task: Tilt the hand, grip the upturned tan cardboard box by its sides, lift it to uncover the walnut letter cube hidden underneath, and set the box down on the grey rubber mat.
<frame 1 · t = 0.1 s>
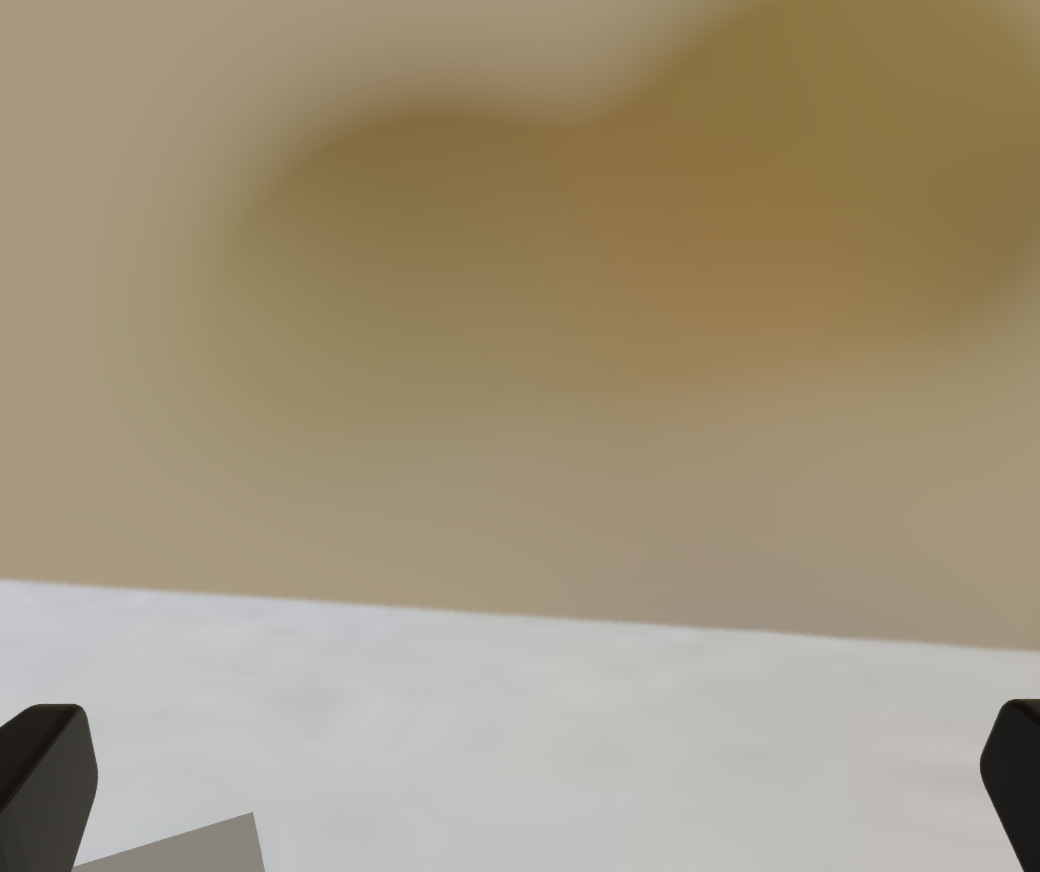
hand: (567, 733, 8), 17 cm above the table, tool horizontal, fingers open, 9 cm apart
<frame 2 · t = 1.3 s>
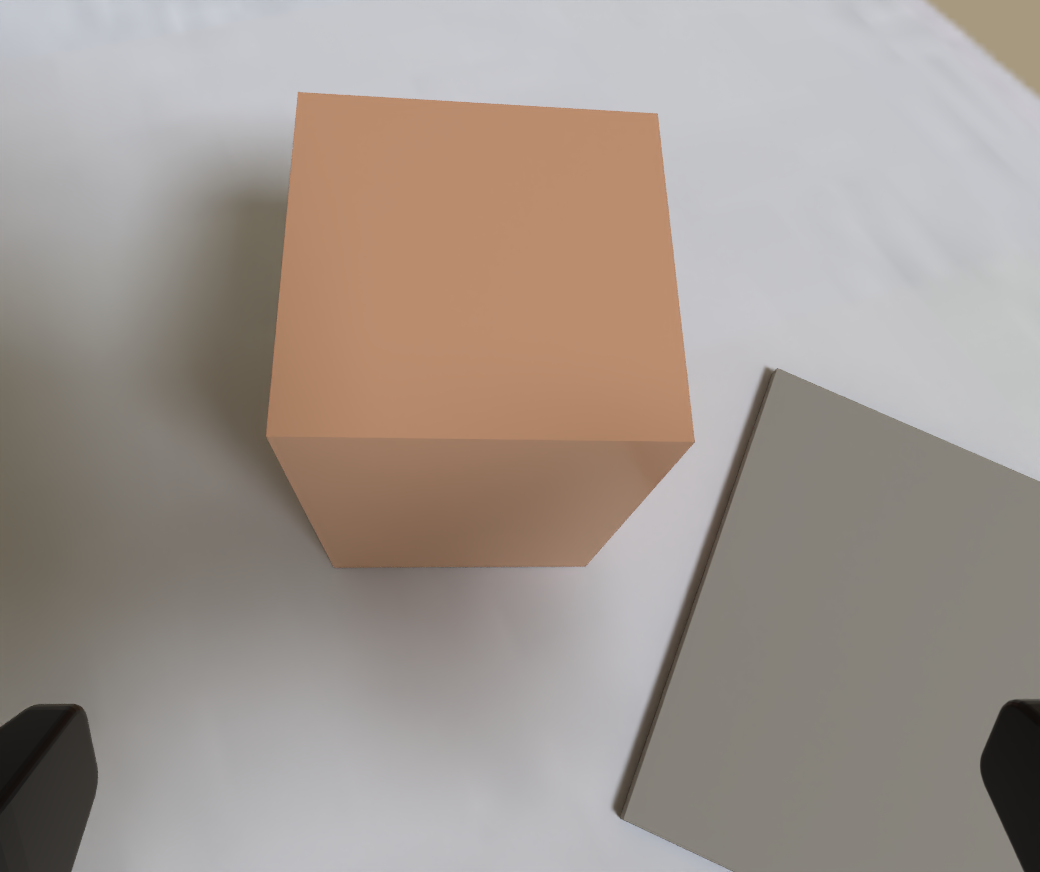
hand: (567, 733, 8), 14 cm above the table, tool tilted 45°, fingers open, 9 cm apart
tan cardboard box: (461, 449, 24), on the table
rubber mat: (933, 673, 23), on the table
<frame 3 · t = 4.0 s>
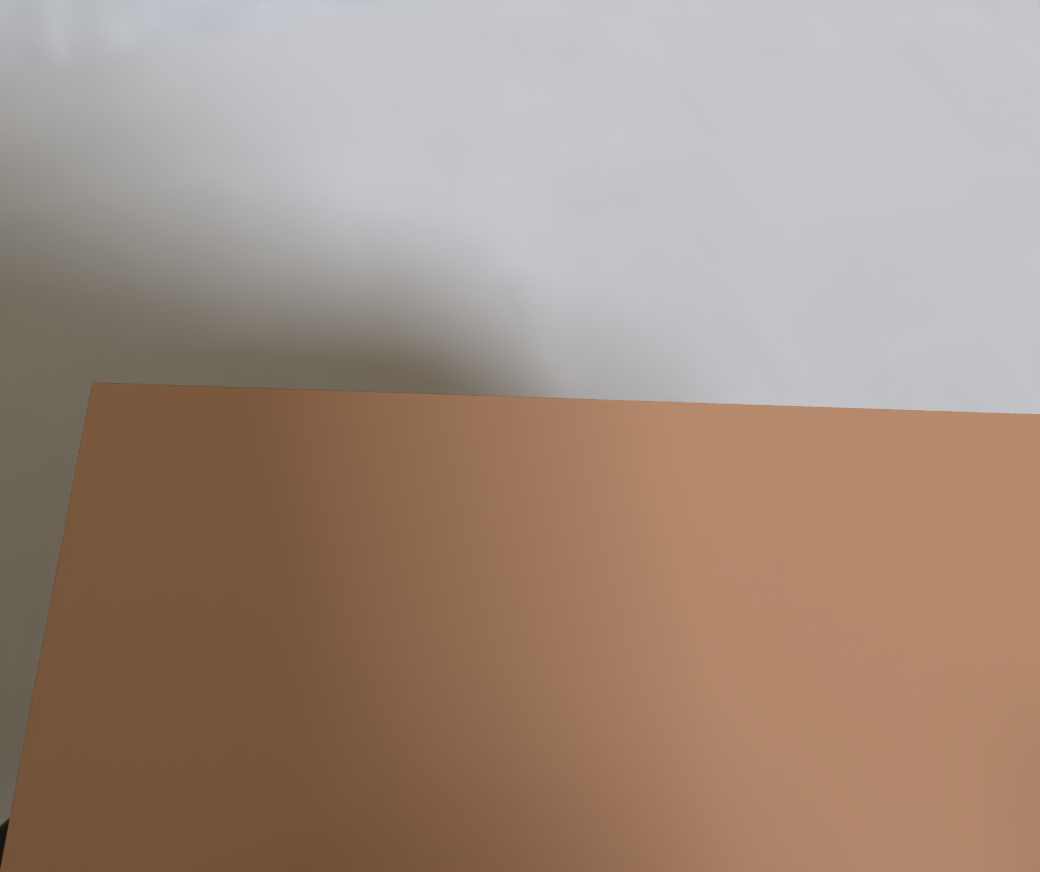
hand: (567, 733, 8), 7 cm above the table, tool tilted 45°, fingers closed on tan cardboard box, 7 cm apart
tan cardboard box: (505, 819, 14), on the table, touching gripper
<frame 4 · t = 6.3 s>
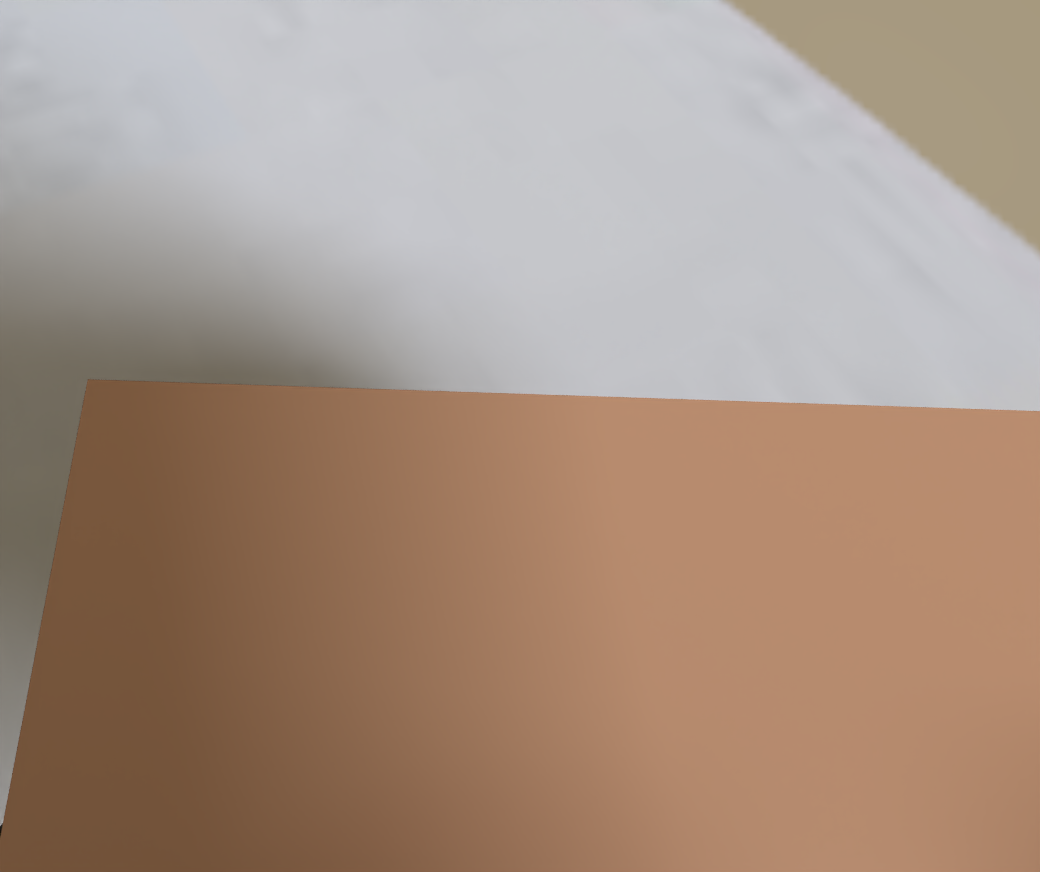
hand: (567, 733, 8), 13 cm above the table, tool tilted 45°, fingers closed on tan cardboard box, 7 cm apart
tan cardboard box: (504, 817, 14), point 7 cm above the table, touching gripper
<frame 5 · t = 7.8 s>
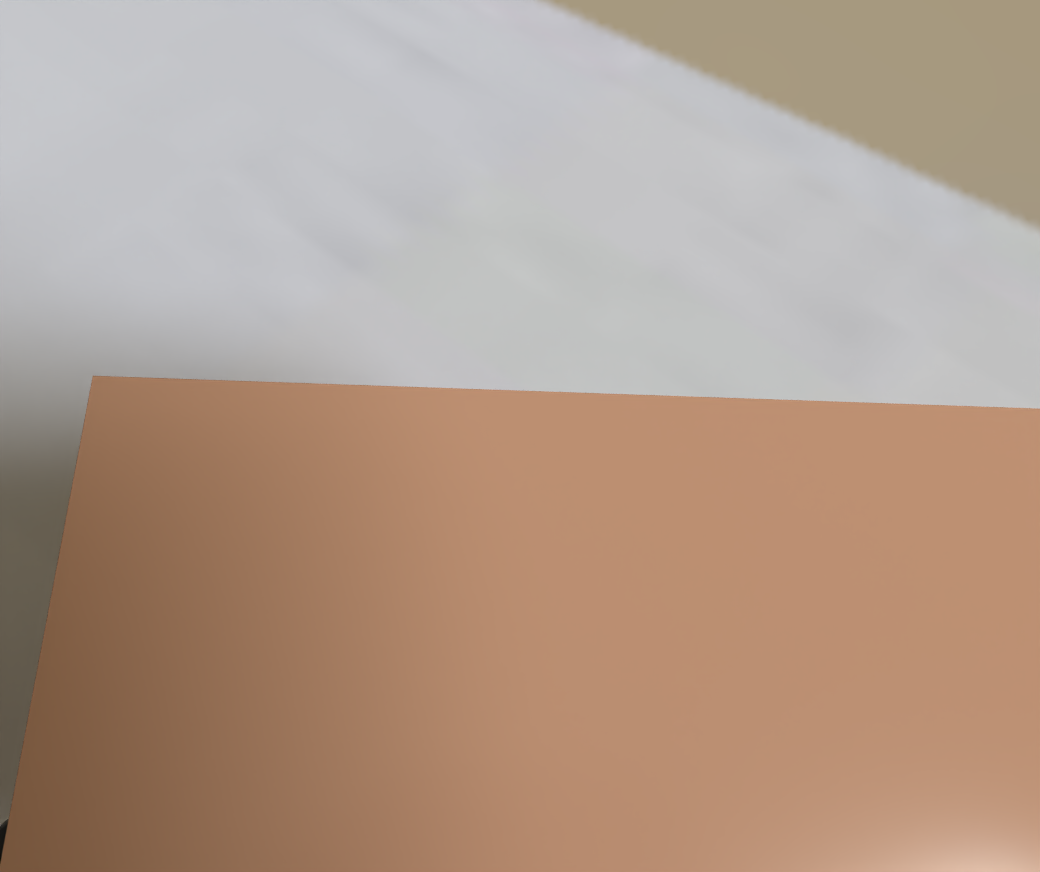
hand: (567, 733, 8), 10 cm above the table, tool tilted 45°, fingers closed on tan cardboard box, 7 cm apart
tan cardboard box: (505, 816, 14), point 4 cm above the table, touching gripper
when the fingers open (8 cm above the table, at t = 8.8 s): tan cardboard box drops 1 cm, resting on rubber mat.
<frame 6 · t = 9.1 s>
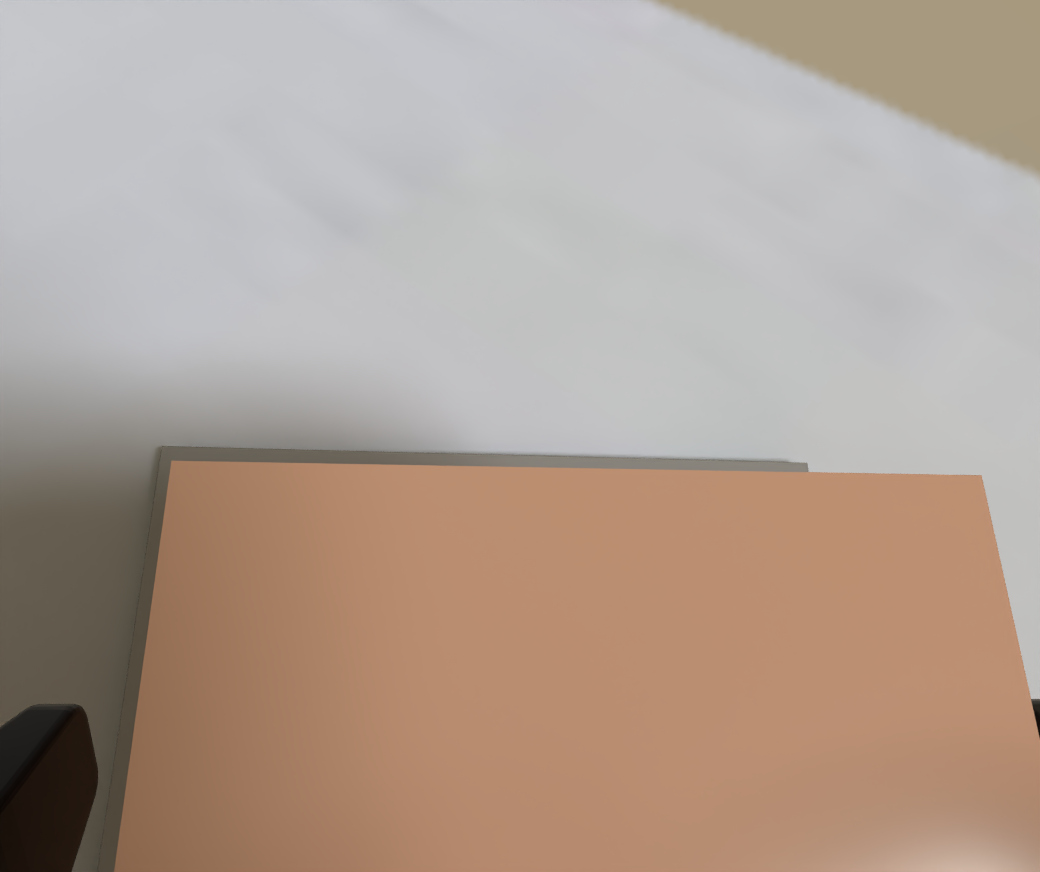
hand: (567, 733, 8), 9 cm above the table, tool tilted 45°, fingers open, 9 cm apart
tan cardboard box: (501, 808, 15), resting on rubber mat
rubber mat: (496, 807, 15), on the table
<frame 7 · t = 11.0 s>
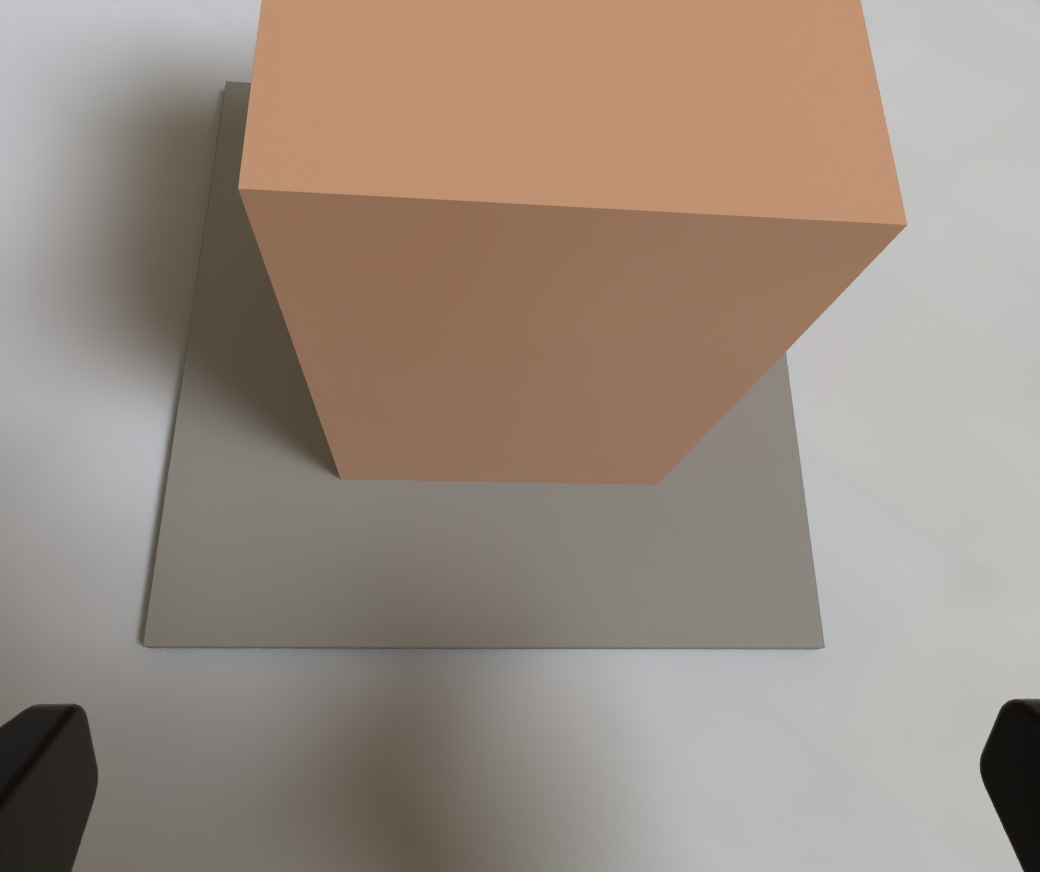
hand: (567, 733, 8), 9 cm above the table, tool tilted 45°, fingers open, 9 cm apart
tan cardboard box: (501, 339, 19), resting on rubber mat
rubber mat: (497, 347, 19), on the table
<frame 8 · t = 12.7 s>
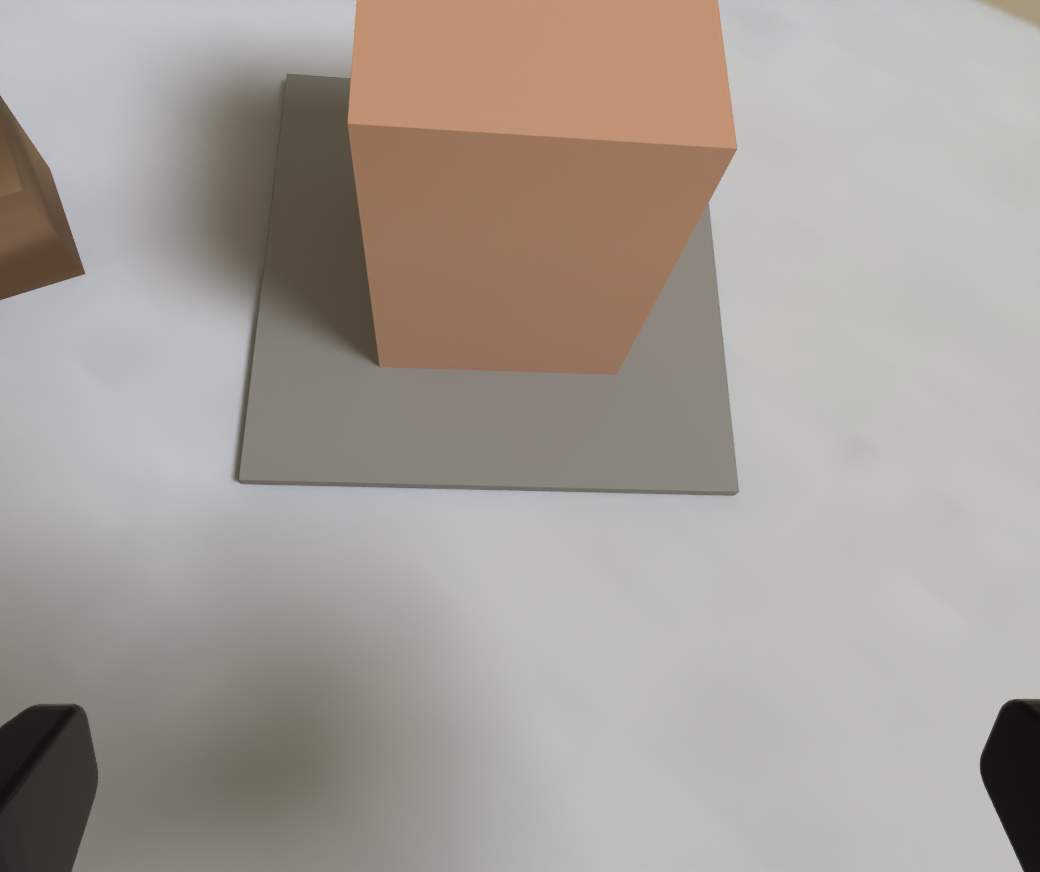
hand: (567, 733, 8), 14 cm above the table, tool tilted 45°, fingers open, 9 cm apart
tan cardboard box: (499, 268, 25), resting on rubber mat
rubber mat: (496, 275, 25), on the table
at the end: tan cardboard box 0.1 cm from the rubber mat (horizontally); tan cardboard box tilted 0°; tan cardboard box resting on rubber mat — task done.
